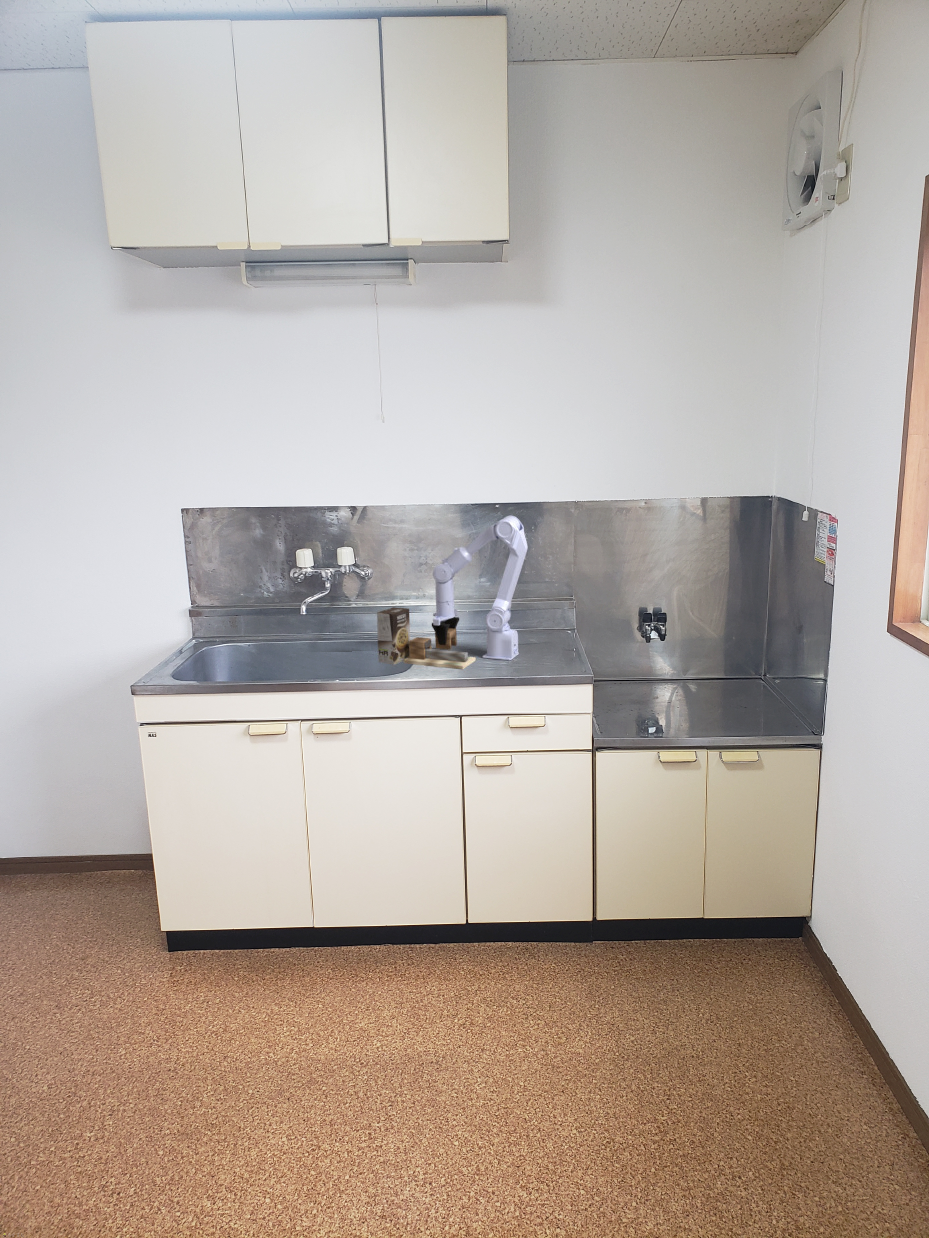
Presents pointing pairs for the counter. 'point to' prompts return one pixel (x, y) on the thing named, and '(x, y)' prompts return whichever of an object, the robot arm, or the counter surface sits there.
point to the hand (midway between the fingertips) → (446, 642)
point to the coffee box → (393, 635)
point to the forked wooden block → (448, 640)
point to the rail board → (439, 662)
